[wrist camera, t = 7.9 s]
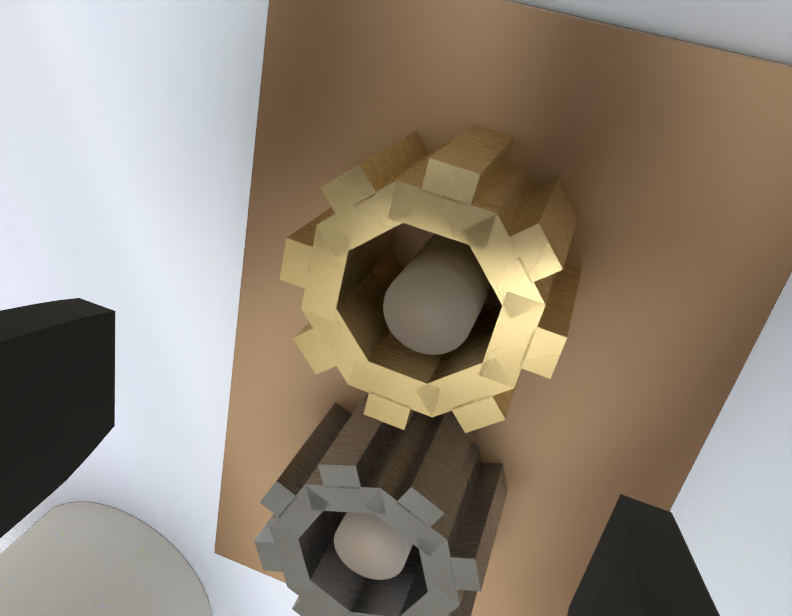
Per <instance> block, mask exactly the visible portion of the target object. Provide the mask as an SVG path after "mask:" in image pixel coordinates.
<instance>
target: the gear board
mask: <svg viewBox="0 0 792 616" xmlns="http://www.w3.org/2000/svg"><path fill="white" fill-rule="evenodd" d="M472 125H477V126H480V127H483V128H486V129H490V130H493V131H496V132H499V133H503V134H506V135H509V136H512V137H513V140H512V143H511V146H510V150H509V153H508V156H507V159H506V162H508V163H511V164H514V165H517V166H521V167H524V168H526V169H527V171H528V172H529V174H530V176H531V178H532V180H533V182H534V184H535V186H536V187H538V186H540V185H542V184H544V183H546V182H548V181H550V180H552V179H554V178H556V177H558V176H560V177H561V179H562V181H563V183H564V185H565V187H566V189H567V191H568V193H569V195H570V197H571V199H572V201H573V203H574V205H575V207H576V209H577V211H578V213H579V214H578V217H577V221H576V225H575V228H574V232H573V235H572V239H571V242H570V246H569V250H568V253H567V257H566V260H565V264H568V265H571V266H574V267H577V268H580V269H582V270H581V275H580V280H579V284H578V289H577V294H576V299H575V303H574V308H573V313H572V317H571V322H570V327H569V332H568V336H567V339H566V342H565V344H564V347H563V349H562V352H561V354H560V357H559V359H558V362H557V364H556V367H555V369H554V371H553V374H552V376H551V379H549V378H546V377H544V376H541V375H538V374H535V373H533V372H530V371H527V370H525V369H521V373H520V376H519V379H518V382H517V385H516V388H515V392H514V395H513V398H512V401H511V404H510V407H509V411H508V414H507V417H506V420H503V421H500V422H497V423H494V424H491V425H488V426H485V427H482V428H479V429H476V432H475V435H474V437H473V440H472V442H473V443H475V444H476V445H477V446H479V447H480V451H481V457H482V463H503V465H504V472H505V478H506V485H507V496H506V500H505V503H504V507H503V511H502V515H501V518H500V522H499V526H498V530H497V533H496V537H495V541H494V545H493V549H492V552H491V556H490V560H489V564H488V567H487V571H486V575H485V579H484V582H483V586H482V590H481V592H480V591H478V592H477V595H476V599H475V603H474V606H473V610H472V614H471V616H567V614H568V608H569V606H570V603H571V601H572V599H573V597H574V595H575V592H576V590H577V588H578V586H579V584H580V582H581V579H582V577H583V575H584V573H585V571H586V568H587V566H588V564H589V562H590V560H591V557H592V555H593V553H594V551H595V549H596V547H597V544H598V542H599V540H600V538H601V536H602V533H603V531H604V529H605V527H606V525H607V522H608V520H609V518H610V516H611V514H612V512H613V509H614V507H615V505H616V503H617V501H618V498H619V496H620V494H622V495H625V496H628V497H630V498H633V499H636V500H639V501H641V502H644V503H647V504H650V505H652V506H655V507H658V508H661V509H663V510H666V511H670V509H671V507H672V505H673V503H674V501H675V499H676V497H677V495H678V494H679V492H680V490H681V488H682V486H683V484H684V482H685V480H686V478H687V476H688V474H689V472H690V470H691V468H692V466H693V464H694V462H695V460H696V458H697V456H698V454H699V452H700V450H701V448H702V446H703V445H704V443H705V441H706V439H707V437H708V435H709V433H710V431H711V429H712V427H713V425H714V423H715V421H716V419H717V417H718V415H719V413H720V411H721V409H722V407H723V405H724V403H725V401H726V399H727V397H728V395H729V394H730V392H731V390H732V388H733V386H734V384H735V382H736V380H737V378H738V376H739V374H740V372H741V370H742V368H743V366H744V364H745V362H746V360H747V358H748V356H749V354H750V352H751V350H752V348H753V346H754V345H755V343H756V341H757V339H758V337H759V335H760V333H761V331H762V329H763V327H764V325H765V323H766V321H767V319H768V317H769V315H770V313H771V311H772V309H773V307H774V305H775V303H776V301H777V299H778V297H779V296H780V294H781V292H782V290H783V288H784V286H785V284H786V282H787V280H788V278H789V276H790V274H791V272H792V66H791V65H787V64H782V63H778V62H774V61H769V60H765V59H761V58H756V57H752V56H748V55H743V54H739V53H735V52H730V51H726V50H721V49H717V48H713V47H708V46H704V45H700V44H695V43H691V42H687V41H682V40H678V39H674V38H669V37H665V36H661V35H656V34H652V33H647V32H643V31H639V30H634V29H630V28H626V27H621V26H617V25H613V24H608V23H604V22H600V21H595V20H591V19H587V18H582V17H578V16H573V15H569V14H565V13H560V12H556V11H552V10H547V9H543V8H539V7H534V6H530V5H526V4H521V3H517V2H513V1H508V0H269V7H268V17H267V27H266V37H265V47H264V57H263V67H262V77H261V87H260V98H259V108H258V118H257V128H256V138H255V148H254V158H253V168H252V178H251V188H250V199H249V209H248V219H247V229H246V239H245V249H244V259H243V269H242V279H241V289H240V300H239V310H238V320H237V330H236V340H235V350H234V360H233V370H232V380H231V390H230V401H229V411H228V421H227V431H226V441H225V451H224V461H223V471H222V481H221V491H220V502H219V512H218V522H217V532H216V542H215V552H214V553H216V554H218V555H221V556H223V557H226V558H228V559H230V560H233V561H235V562H237V563H240V564H242V565H244V566H247V567H249V568H252V569H254V570H256V571H259V572H261V573H263V574H266V575H268V576H270V577H273V578H275V579H278V580H280V581H282V582H285V583H286V581H285V578H284V574H283V572H276V571H266V570H263V568H262V564H261V561H260V558H259V555H258V552H257V549H256V545H255V542H254V541H255V539H256V538H257V536H258V535H259V534H260V532H261V531H262V529H263V528H264V526H265V525H266V524H267V522H268V521H269V519H270V518H271V517H272V515H273V514H274V513H272V512H271V511H270V510H268V509H267V508H266V507H265V506H263V505H262V504H261V503H259V502H260V501H261V500H262V498H263V497H264V496H265V494H266V493H267V492H268V490H269V489H270V488H271V486H272V485H273V484H274V482H275V481H276V480H277V478H278V477H279V476H280V474H281V473H282V472H283V470H284V469H285V468H286V466H287V465H288V464H289V462H290V461H291V460H292V458H293V457H294V456H295V454H296V453H297V452H298V450H299V449H300V448H301V446H302V445H303V444H304V442H305V441H306V440H307V438H308V437H309V436H310V434H311V433H312V432H313V430H314V429H315V428H316V426H317V425H318V424H319V422H320V421H321V420H322V419H323V417H324V416H325V415H326V413H327V412H328V411H329V410H330V408H331V407H332V406H333V405H334V403H335V402H336V403H337V404H338V405H339V406H341V407H342V408H343V409H345V410H346V411H347V412H348V413H350V414H351V415H352V413H353V412H354V411H355V410H356V409H357V407H358V406H359V404H360V403H361V401H362V400H363V398H364V397H365V395H366V394H367V393H368V392H366V391H363V390H361V389H358V388H355V387H353V386H350V385H348V384H347V382H346V380H345V379H344V377H343V376H342V374H341V372H340V371H339V369H338V367H337V366H335V367H333V368H330V369H328V370H326V371H323V372H321V373H319V374H315V373H314V371H313V369H312V368H311V366H310V365H309V363H308V362H307V360H306V358H305V357H304V355H303V354H302V352H301V350H300V349H299V347H298V346H297V344H296V343H295V341H294V339H293V337H294V336H295V335H296V334H297V333H298V332H299V331H300V330H301V329H302V328H303V327H304V326H305V325H306V324H307V323H308V322H309V321H308V319H307V318H306V316H305V314H304V313H303V311H302V310H301V307H302V301H303V296H304V291H305V289H304V288H302V287H299V286H296V285H293V284H291V283H288V282H285V281H283V280H280V273H281V267H282V261H283V255H284V249H285V243H286V238H287V237H288V236H290V235H291V234H293V233H294V232H296V231H297V230H299V229H300V228H301V227H303V226H304V225H306V224H307V223H309V222H310V221H312V220H313V219H315V218H316V217H318V216H319V215H320V214H322V213H323V212H325V211H326V210H328V209H329V208H331V207H332V206H331V205H330V203H329V201H328V200H327V198H326V196H325V195H324V193H323V191H322V189H321V187H322V186H324V185H326V184H327V183H329V182H331V181H332V180H334V179H336V178H337V177H339V176H341V175H342V174H344V173H346V172H347V171H349V170H351V169H352V168H354V167H356V166H357V165H359V164H360V163H362V162H364V161H365V160H367V159H369V158H370V157H372V156H374V155H375V154H377V153H379V152H380V151H382V150H384V149H386V148H387V147H389V146H391V145H392V144H394V143H396V142H397V141H399V140H401V139H403V138H404V137H406V136H408V135H409V134H411V133H413V132H415V131H417V133H418V135H419V137H420V139H421V141H422V142H423V144H424V146H425V148H426V150H427V152H428V153H429V152H431V151H433V150H434V149H436V148H438V147H440V146H442V145H443V144H445V143H447V144H448V143H450V142H451V141H452V140H453V139H455V138H456V137H457V136H459V135H460V134H461V133H463V132H464V131H465V130H466V129H468V128H469V127H470V126H472ZM392 251H393V253H394V254H395V256H396V258H397V260H398V261H399V263H400V265H401V267H402V268H403V271H402V272H401V273H400V274H399V275H398V277H397V278H396V279H395V280H394V281H393V282H392V284H391V285H390V286H389V288H388V289H387V292H386V294H385V297H384V303H383V311H384V317H385V321H386V323H387V326H388V327H389V329H390V331H391V332H392V334H393V335H394V336H395V337H396V338H397V340H398V341H400V342H401V343H402V344H403V345H405V346H406V347H408V348H410V349H411V350H414V351H416V352H419V353H423V354H429V355H438V354H444V353H447V352H450V351H452V350H454V349H456V348H457V347H459V346H460V345H461V344H462V343H463V342H464V341H465V340H466V338H467V337H468V335H469V333H470V331H471V329H472V327H473V325H474V323H475V321H476V319H477V317H478V315H479V313H480V311H481V309H482V307H483V305H484V304H487V303H489V302H491V301H494V300H496V299H498V296H497V295H496V293H495V291H494V289H493V287H492V286H491V284H490V282H489V280H488V278H487V276H486V275H485V273H484V271H483V269H482V267H481V266H480V264H479V262H478V260H477V258H476V256H475V255H474V253H473V251H472V249H471V247H470V246H469V245H467V244H464V243H461V242H459V241H456V240H453V239H450V238H447V237H444V236H441V235H438V234H435V233H432V232H429V231H426V230H423V229H420V228H417V227H414V226H411V225H409V224H406V223H401V224H400V225H398V229H397V233H396V237H395V241H394V245H393V249H392ZM334 545H335V549H336V552H337V554H338V556H339V557H340V559H341V560H342V561H343V563H344V564H345V565H346V566H347V567H349V568H350V569H351V570H353V571H354V572H356V573H357V574H359V575H361V576H364V577H367V578H370V579H376V580H385V579H390V578H393V577H395V576H396V575H398V574H399V573H400V572H401V571H402V569H403V567H404V565H405V563H406V560H407V558H408V555H409V553H410V550H411V548H412V546H413V544H412V543H411V542H410V541H409V540H407V539H406V538H405V537H403V536H402V535H401V534H400V533H398V532H397V531H396V530H394V529H393V528H392V527H391V526H389V525H388V524H387V523H385V522H384V521H383V520H382V519H380V518H379V517H378V516H376V515H375V514H370V513H353V512H347V513H346V515H345V516H344V518H343V520H342V522H341V523H340V525H339V527H338V529H337V531H336V532H335V536H334Z"/></svg>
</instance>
